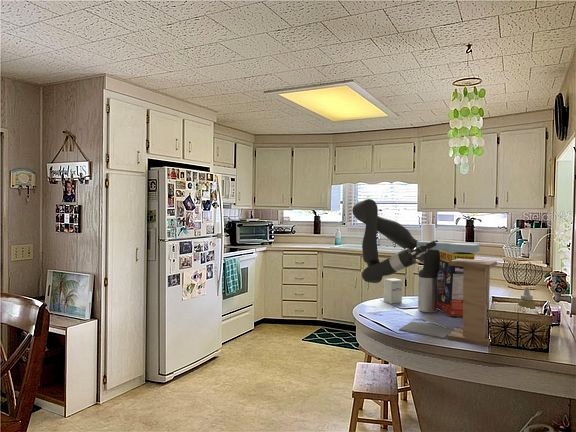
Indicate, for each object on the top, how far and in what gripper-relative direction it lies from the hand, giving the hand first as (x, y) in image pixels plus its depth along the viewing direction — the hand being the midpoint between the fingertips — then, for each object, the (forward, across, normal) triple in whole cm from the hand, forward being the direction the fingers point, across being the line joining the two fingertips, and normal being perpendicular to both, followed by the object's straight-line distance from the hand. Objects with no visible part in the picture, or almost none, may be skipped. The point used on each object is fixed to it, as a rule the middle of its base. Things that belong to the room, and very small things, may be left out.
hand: (436, 242), depth 181 cm
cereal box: (-23, +41, +31) cm, 56 cm away
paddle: (+2, 0, +5) cm, 5 cm away
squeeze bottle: (+7, +30, +48) cm, 57 cm away
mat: (-22, 0, +31) cm, 38 cm away
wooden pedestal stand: (-6, 0, +40) cm, 40 cm away
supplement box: (-51, +43, +15) cm, 68 cm away
